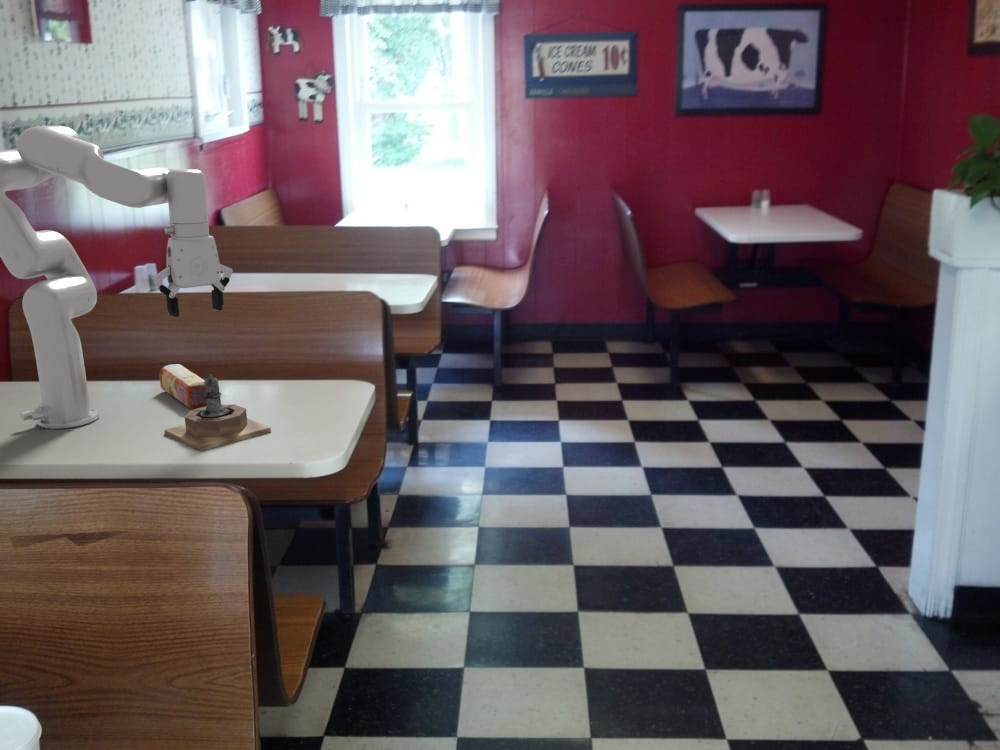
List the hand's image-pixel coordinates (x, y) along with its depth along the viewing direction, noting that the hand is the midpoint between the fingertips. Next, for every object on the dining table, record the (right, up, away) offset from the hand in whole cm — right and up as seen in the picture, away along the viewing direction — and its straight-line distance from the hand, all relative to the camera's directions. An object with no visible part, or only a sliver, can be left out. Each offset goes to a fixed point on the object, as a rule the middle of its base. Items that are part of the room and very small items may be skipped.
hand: (196, 312), depth 213 cm
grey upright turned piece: (+4, -25, +1) cm, 25 cm away
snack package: (-10, -19, +28) cm, 36 cm away
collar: (+4, -25, +1) cm, 26 cm away
